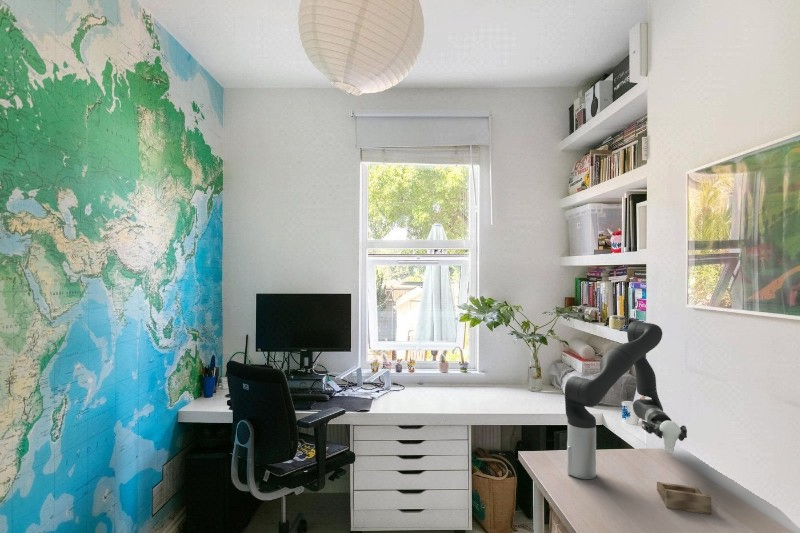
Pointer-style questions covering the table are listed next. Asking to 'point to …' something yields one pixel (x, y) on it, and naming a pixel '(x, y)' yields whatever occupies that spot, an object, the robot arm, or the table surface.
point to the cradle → (684, 498)
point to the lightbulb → (670, 434)
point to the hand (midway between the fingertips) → (671, 436)
